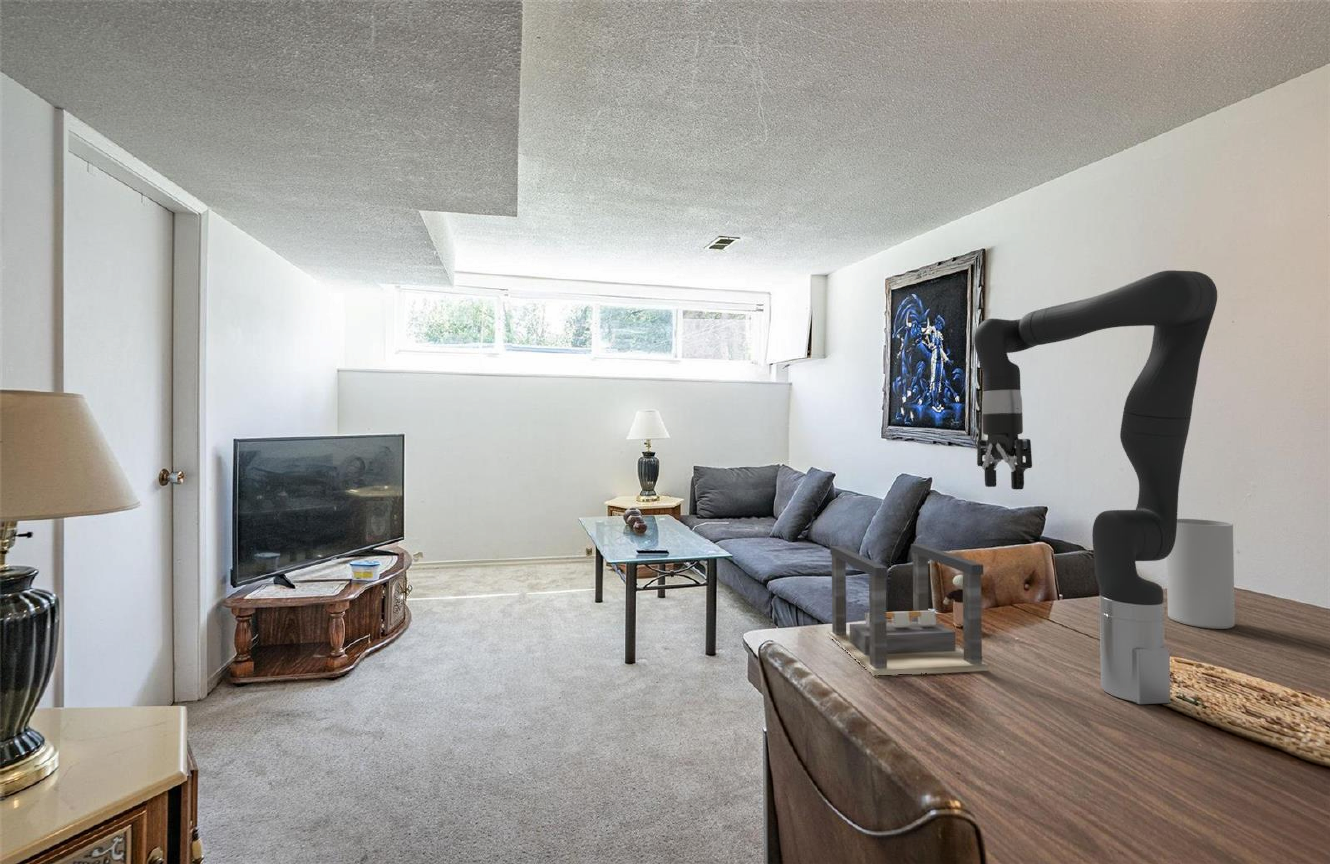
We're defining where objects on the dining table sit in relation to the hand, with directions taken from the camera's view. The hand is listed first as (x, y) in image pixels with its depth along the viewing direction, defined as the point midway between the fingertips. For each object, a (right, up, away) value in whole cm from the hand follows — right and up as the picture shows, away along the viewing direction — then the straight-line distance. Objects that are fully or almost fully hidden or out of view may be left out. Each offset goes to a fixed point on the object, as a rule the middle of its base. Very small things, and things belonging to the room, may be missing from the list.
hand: (1003, 487), depth 128 cm
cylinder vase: (+62, -36, +22) cm, 75 cm away
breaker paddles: (-21, -31, +3) cm, 37 cm away
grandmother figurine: (0, -36, +20) cm, 41 cm away
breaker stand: (-21, -36, +2) cm, 42 cm away
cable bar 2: (-11, -17, +4) cm, 20 cm away
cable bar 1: (-31, -17, +2) cm, 35 cm away
